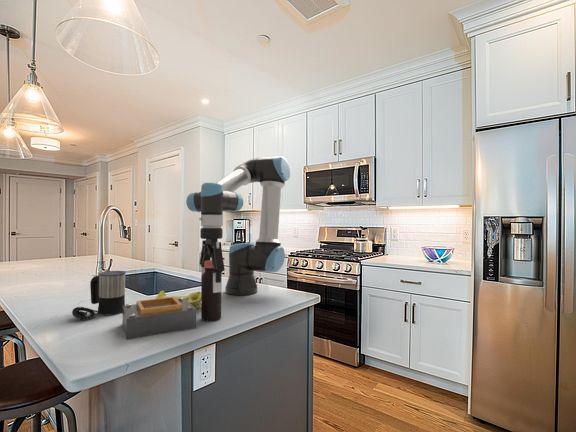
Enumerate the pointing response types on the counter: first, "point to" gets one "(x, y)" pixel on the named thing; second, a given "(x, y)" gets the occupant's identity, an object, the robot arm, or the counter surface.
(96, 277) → the milk frother
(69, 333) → the counter surface
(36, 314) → the counter surface
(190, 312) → the gray fixture block
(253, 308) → the counter surface
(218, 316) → the vinegar
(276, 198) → the robot arm
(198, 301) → the yellow-green irregular piece
